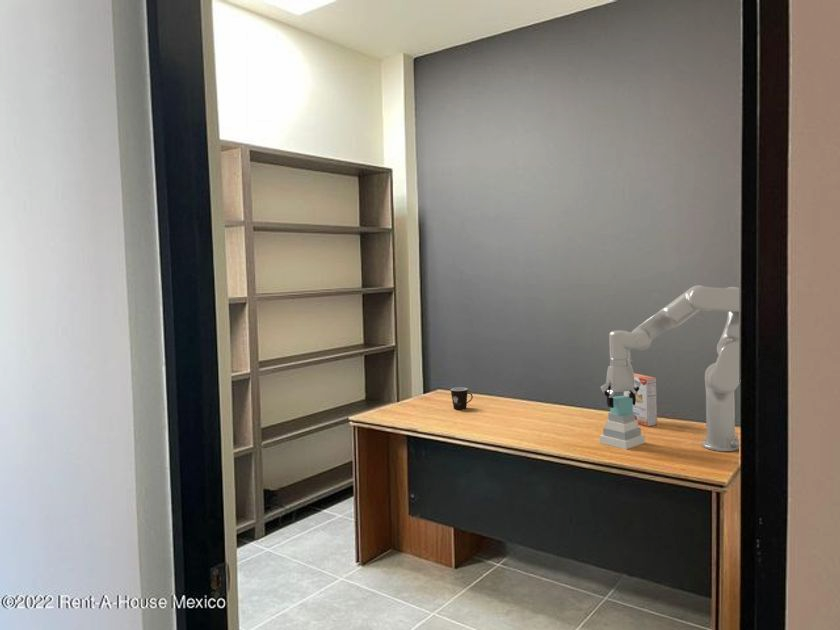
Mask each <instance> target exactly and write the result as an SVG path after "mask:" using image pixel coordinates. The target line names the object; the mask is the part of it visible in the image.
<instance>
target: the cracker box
mask: <svg viewBox="0 0 840 630" xmlns="http://www.w3.org/2000/svg"><path fill="white" fill-rule="evenodd" d="M633 373H634V380H637V381H639V382H641V385H640V387H639V390H638V392H637V394H636V402H635V405H633V413H635V420H638V425H641V426H644V427H646V428H649V427H654V426H656V425H657V426H658V406H657V405H658V404H657V400H658V399H657V398H658V397H657V378H656V376H655V377H653V376H650V375H649V376H648V375H644V374H640V373H635V372H633ZM635 386H636V384H635ZM635 386H634V387H635ZM629 393H630V392H629V391H624V392H623V396H626V397H629Z"/></svg>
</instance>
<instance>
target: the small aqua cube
mask: <svg viewBox="0 0 840 630" xmlns="http://www.w3.org/2000/svg"><path fill="white" fill-rule="evenodd" d="M612 398H613V403H614V407H613V408H611V407H609V410H610V411H609V413H610V412H611V413H614V414H616V415H619V416H620V415H627V414H633V399H632V398H629V397H626V396H624V395H617V396H616V395H615V396H612Z"/></svg>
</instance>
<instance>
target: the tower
mask: <svg viewBox="0 0 840 630" xmlns="http://www.w3.org/2000/svg"><path fill="white" fill-rule="evenodd" d="M607 415H608V416H607V417H608V419H606V420H605V427H603V428H602V431H603V432H602V433H603V434H600V435H599V444H603V445H606V446H610V447H614V448H617V449H622V450H629V449H631V448H635V447H637V446H640V445H642V444H645V443H646V437H645V434H642V428H641V427H639V424H638V420H635V413H633V414H627V415H620V416H619V415H616V414H614V413H611V412H610V411H609V412H608V413H607Z"/></svg>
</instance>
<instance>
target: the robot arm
mask: <svg viewBox="0 0 840 630" xmlns="http://www.w3.org/2000/svg"><path fill="white" fill-rule="evenodd" d="M739 288H740V287H736V286H729V287H712V286H710V287H709V286H704V285H699V284H697V285H694V286H692V287H690V288H688V289H687V290H686V291H685V292H683V293H682V294H681V295H679V296H678V297H677V298H675V299H674V300H673V301H671V302H670V303H668V304H667V305H666V306H664V307H663V308H661V309H660V310H659V311H658V312H656V313H655V314H653V315H652V316H651V317H649V318H647V319H646V320H644V321H643V322H642V323H640V324H639V325H638V326H636V327H635V328H634V329H633V330H632V331H627V330H619V329H617V330H612V331H610V332H609V336H608V341H609V345H608V346H609V366H607V371H606V379H605V383H604V384H602V385H600V387H599V388H600V390H601V391H602V394H603V396H605V397H606V405H607V407H608V408H610V407H611V408H613V407H614V403H613V398H612V397H614V395H615V393H624V391H629V392H630V393H629V398H632V399H633V405H635V402H636V394H637V392H638V390H639V387H640V385H641V382H639V381H637V380H634V373H635V372H634V369H633V365H632V364H631V362H633V361H634V360H633V358H632V357H631V350H633V351H645V350H648V349H649V347H651V344H652V341H653V340H654V339H656V337H657V338H658V336H659V335H661V334H662V333H664V332H666V331H668V330H671V329H675V328H677V327H678V326H681V325H683V323H685V322H686V321H688V320H689V319H690V318H691V317H693V316H694V315H695V314H697V313H698V312H699V311H706V312H709V311H710V312H724V313H727V318H726V323H725V326H724V328H723V331H722V334H721V336H720V338H719V341H718V343H717V346H716V353H717V355H718V356H717V359H716V361H715V362H714V363H712V364H710V365H709V366H708V367H707V368H706V369H705V372H704V384H705V413H706V414H705V416H706V418H705V422H706V428H705V429H706V431H705V432H706V439H704V440H702V442H701V446H702V447H704V448H705V449H708V450H711V451H717V452H734V451H738V450H739V449H740V448H739V440H740V439H739V436H738V435H737V434H736V428H735V427H736V422H735V421H736V419H735V418H736V414H735V411H736V410H735V407H736V406H735V405H736V403H735V399H736V398H735V391H736V389H738V387H739V385H740V383H739ZM635 384H636V386H635ZM634 386H635V387H634Z"/></svg>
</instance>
